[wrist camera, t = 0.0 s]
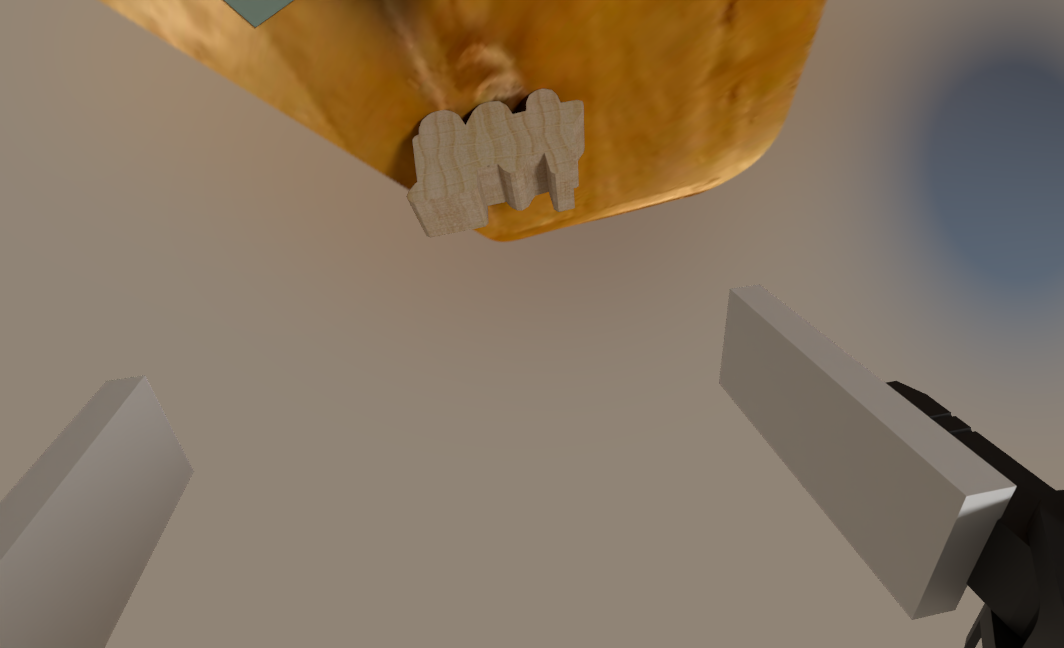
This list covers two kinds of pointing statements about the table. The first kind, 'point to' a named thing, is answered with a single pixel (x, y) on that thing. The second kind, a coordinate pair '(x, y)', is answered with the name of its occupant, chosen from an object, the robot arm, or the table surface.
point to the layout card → (257, 9)
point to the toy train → (495, 161)
